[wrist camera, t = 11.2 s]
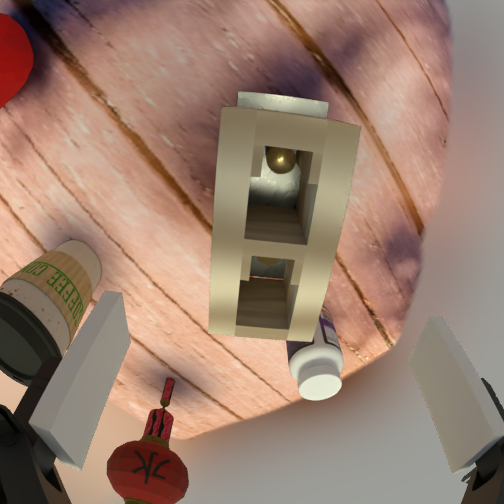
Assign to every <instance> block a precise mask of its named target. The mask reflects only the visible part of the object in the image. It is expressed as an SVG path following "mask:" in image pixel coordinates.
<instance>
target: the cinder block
mask: <svg viewBox="0 0 504 504" xmlns="http://www.w3.org/2000/svg"><path fill="white" fill-rule="evenodd" d="M360 130H361V126H357V125H353V124H349V123H345V122H342V121H338V120H333V119H328V118H322V117H316V116H310V115H304V114H297V113H290V112H282V111H274V110H266V109H256V108H246V107H234V106H230V107H222V108H221V119H220V130H219V142H218V155H217V168H216V182H215V196H214V212H213V229H212V248H211V270H210V295H209V328H208V333H210V334H219V335H228V336H238V337H249V338H261V339H274V340H289V341H306V342H312V340H313V336H314V333H315V329H316V326H317V323H318V319H319V316H320V312H321V308H322V305H323V301H324V298H325V294H326V290H327V286H328V282H329V279H330V275H331V271H332V267H333V263H334V259H335V255H336V250H337V246H338V242H339V238H340V233H341V229H342V224H343V220H344V215H345V211H346V206H347V201H348V196H349V191H350V186H351V181H352V176H353V171H354V165H355V160H356V154H357V148H358V143H359V137H360ZM264 146H272V147H280V148H288V149H295V150H297V152H296V164H297V165H298V167H299V169H300V170H301V176H300V183H299V189H298V196H297V202H296V208H295V209H290V208H281V207H273V206H263V205H254V204H248V195H249V186H250V177H260V178H261V171H262V163H263V154H264ZM252 256H261V257H271V258H281V259H286V261H287V262H286V268H285V273H284V279H283V280H274V279H263V278H253V277H249V276H250V267H251V258H252Z"/></svg>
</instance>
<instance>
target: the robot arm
mask: <svg viewBox="0 0 504 504" xmlns="http://www.w3.org/2000/svg"><path fill="white" fill-rule="evenodd" d="M130 343H131V341H130V336H129V331H128V326H127V320H126V315H125V309H124V303H123V296H122V293H119V292H113V291H106V290H105V292H104V293H103V295H102V296H101V298H100V299H99V301H98V302H97V304H96V305H95V307H94V308H93V310H92V311H91V313H90V315H89V316H88V318H87V319H86V321H85V322H84V324H83V326H82V327H81V329H80V330H79V332H78V334H77V335H76V337H75V339H74V340H73V342H72V344H71V345H70V347H69V349H68V350H67V352H66V354H65V355H64V357H63V359H62V358H58V357H55V356H51V357H50V358H49V359H48V360H46V361H45V362H44V363H43V364H42V365H41V366H40V368H39V370H38V371H37V373H36V376H35V377H34V378H33V380H32V382H31V383H30V384H31V385H30V386H29V387H28V389H27V390H26V392H25V394H24V396H23V398H22V399H21V401H20V403H19V405H18V407H17V409H16V410H15V412H14V414H12V413H11V411H10V410H9V409H8V408H7V407H6V406H3V405H1V404H0V504H72V503H71V501H70V499H69V497H68V495H67V493H66V490H65V488H64V486H63V483H62V481H61V479H60V477H59V474H58V471H57V469H56V467H55V465H54V461H55V459H56V457H57V458H58V459H59V460H60V461H61V462H62V464H65V465H68V466H70V467H73V468H76V469H79V470H82V468H83V465H84V462H85V459H86V456H87V453H88V450H89V447H90V444H91V441H92V438H93V436H94V433H95V430H96V427H97V425H98V422H99V419H100V417H101V414H102V411H103V409H104V406H105V404H106V401H107V399H108V396H109V394H110V391H111V389H112V386H113V384H114V381H115V379H116V376H117V374H118V371H119V369H120V367H121V364H122V362H123V359H124V357H125V355H126V352H127V350H128V348H129V345H130ZM408 362H409V364H410V367H411V369H412V371H413V374H414V376H415V378H416V380H417V382H418V385H419V387H420V390H421V392H422V395H423V397H424V399H425V402H426V404H427V407H428V409H429V412H430V414H431V417H432V419H433V422H434V425H435V427H436V430H437V432H438V435H439V438H440V441H441V443H442V446H443V449H444V452H445V455H446V457H447V460H448V463H449V466H450V469H451V472H452V474H455V473H457V472H460V471H463V470H466V469H467V468H468V467H470V466H471V465H472V464H473V463H474V462H475V463H476V466H477V467H475V468H474V469H473V470H472V471H471V472H469V473H468V474H467V475H466V476H464V477H463V479H462V480H461V481H465V480H466V479H467V478H469V477H470V476H471V477H470V479H469V480H468V481H467V482H466V483H468V486H467V489H466V492H465V494H464V497H463V500H462V502H461V504H504V409H503V407H502V405H501V404H500V402H499V400H498V398H497V397H496V394H495V392H494V391H493V389H492V387H491V385H490V384H489V383H488V382H486V380H485V379H484V378H480V377H479V375H478V373H477V371H476V369H475V368H474V366H473V364H472V363H471V361H470V360H469V358H468V356H467V354H466V353H465V351H464V349H463V348H462V346H461V345H460V343H459V341H458V340H457V338H456V337H455V335H454V334H453V332H452V330H451V329H450V327H449V326H448V325H447V323H446V321H445V320H444V318H443V317H438V316H437V317H435V316H430V317H429V319H428V321H427V323H426V325H425V328H424V329H423V331H422V333H421V336H420V337H419V339H418V341H417V343H416V345H415V347H414V349H413V351H412V353H411V354H410V356H409V358H408Z"/></svg>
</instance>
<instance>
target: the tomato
mask: <svg viewBox="0 0 504 504" xmlns="http://www.w3.org/2000/svg"><path fill="white" fill-rule="evenodd" d="M33 59H34V54H33V51H32V47H31V44H30V41H29V39H28V36H27V34H26V32H25V31H24V29H23V28H22V26H21V25H20V24H19V23H17V22H16V21H15V20H14V19H12V18H11V17H10V16H9V15H6V14H1V13H0V108H2V107H3V106H4V105H5V104H6V103H7V102H8V101H9V100H11V99H12V98H13V97H14V95H15V94H16V93H17V92H18V91H19V90H20V89H21V87H22V86H23V85H24V84H25V83H26V81H27V78H28V76H29V74H30V72H31V69H32V67H33Z"/></svg>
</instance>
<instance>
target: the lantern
mask: <svg viewBox="0 0 504 504" xmlns="http://www.w3.org/2000/svg"><path fill="white" fill-rule="evenodd" d="M174 383H175V380H174V379H172V378H167V380H166V383H165V387H164V391H163V394H162V398H161V401H160V403H161V405H162V406H163V408H160V409H153V410H151V411H150V413H149V416H148V420H147V424H146V427H145V431H144V435H143V437H142V439H140V440H139V441H131V442H127V443H125V444H123V445H121V446H119V447H117V448H116V449H115V451H114V452H113V454H112V455H111V457H110V458H109V460H108V461H107V476H108V478H109V480H110V483H111V485H112V487H113V489H114V490H115V491H116V492H117V493H118V494H119V495H120V496H121V497H122V498H124V501H125V504H175V503H176V502H177V501H179V500H180V499H182V498H183V497H184V495H185V493H186V491H187V488H188V485H189V480H188V471H187V468H186V467H185V465H184V464H183V462H182V460H181V459H180V458H179V457H178V455H177V454H176V453H174V452H172V451H171V450H170V449H169V439H170V434H171V429H172V425H173V420H174V419H173V416H172V415H171V414H170V413H169V412H167V410H165V407H167V406H169V404H170V399H171V395H172V391H173V387H174Z"/></svg>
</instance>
